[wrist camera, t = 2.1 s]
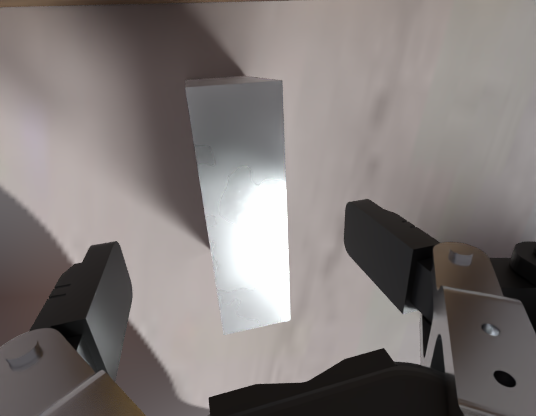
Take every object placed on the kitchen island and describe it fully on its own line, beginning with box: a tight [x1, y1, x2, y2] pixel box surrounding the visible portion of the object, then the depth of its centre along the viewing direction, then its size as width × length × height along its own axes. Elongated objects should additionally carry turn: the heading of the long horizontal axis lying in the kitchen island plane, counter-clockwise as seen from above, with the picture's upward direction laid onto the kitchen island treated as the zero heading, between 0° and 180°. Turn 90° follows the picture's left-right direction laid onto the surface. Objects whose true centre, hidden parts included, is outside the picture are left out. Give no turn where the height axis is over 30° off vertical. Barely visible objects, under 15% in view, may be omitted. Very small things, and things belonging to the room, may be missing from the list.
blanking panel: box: [185, 76, 290, 335], centre depth 15 cm, size 3×10×7 cm, turn 3°
